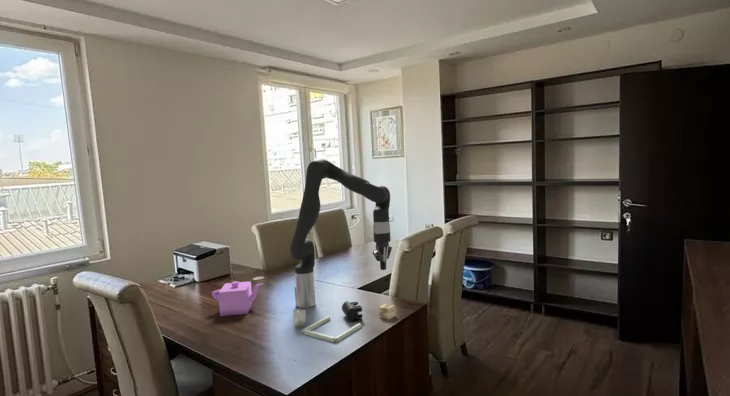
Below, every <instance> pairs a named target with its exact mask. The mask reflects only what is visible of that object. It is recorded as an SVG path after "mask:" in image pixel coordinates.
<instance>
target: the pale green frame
mask: <svg viewBox="0 0 730 396" xmlns="http://www.w3.org/2000/svg"><path fill="white" fill-rule="evenodd" d="M329 321H331V316H330V315H327V316H325V317H324V318H321V319H320V320H317V321H316V322H314V323H312V324H310V325H308V326H306V327H304V328H301V334H303V335H306V336H310V337H314V338H317V339H321V340H324V341H328V342H332V343H334V344H336V343H338V342H340V341H341V340H343V339H344V338H347V336H349V335H351V334H352V333H354V332H356V331H357V330H359V329H360V328H362V323H360V322H357V323H356V324H355V325H353V326H351V327H350V328H348V329H346V330H345V331H343V332H342V333H340V334H338V335H336V336H332V335H328V334H324V333H320V332H317V331H314V329H316V328H318V327H320V326H321V325H323V324H325V323H327V322H329ZM312 330H313V331H312Z"/></svg>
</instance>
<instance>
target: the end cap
mask: <svg viewBox="0 0 730 396" xmlns="http://www.w3.org/2000/svg"><path fill="white" fill-rule="evenodd" d="M341 310H342V313H343V314H344V315H345V317H346V318H347V319H348V321H350V322H351V323H356V322H357V323H359V322H363V314H362V313H360V312H363V306H361V305H360V304H359V302H358V301H352V302H351V301H350V302H349V300H346V301H344V302H343V303H342V306H341Z"/></svg>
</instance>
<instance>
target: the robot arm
mask: <svg viewBox="0 0 730 396" xmlns="http://www.w3.org/2000/svg"><path fill="white" fill-rule="evenodd" d="M324 179H329V180H333V181H335V182H338V183H339V184H341V185H343V187H345V188H346V189H347V190H349V191H351V192H353V193H355V194H358V195H360V196H363V197H364V198H366V199H367V200H369V201H371V202H372V203H375V206H374V207H375V208H374V209H373V210H372V211H373V213H372V215H373V216H372V217H373V219H372V220H373V223H372V224H373V225H372V228H373V229H372V230H373V231H372V232H373V233H372V234H373V242H374V243H375V244H376V245H375V250H374V251H372V255H373V257H374V258H375V260H376V261H377V262H379V265H380V266H379V267H380V270H381V271H385V270H387V261H388V259H390V256H391V252H392V250H393V247H392V246H390V244H389V243H390V242H391V238H392V237H391V223H390V206H391V205H390V203H391V193H390V190H389V188H387V186H384V185H382V186H381V185H380V186H377V185H374V184H373V183H370V181H368V180H367V179H365V178H362V177H360V176H358V175H355V174H352V173H350V172H348V171H347V170H344V169H342V168H341V167H338V166H337V165H335V164H334V163H332V162H331V161H329V160H328V159H324V158H320V159H314V160H312V161H310V163H309V164H308V166H307V168H306V175H305V182H304V183H305V185H304V190H303V194H302V195H303V196H302V200H301V203H300V209H299V213H298V219H297V222H296V223H297V224H296V227H295V231H294V234H293V237H292V240H291V242H290V243H291V244H290V246H289V247H290V248H289V254H290V257H291V258H292V259H293V260H296V261H298V260H299V262H298V263H297V264H296V266H295V267H294V275H295V276H294V278H295V279H294V280H295V286H294V301H295V306H297V308H298V309H310V308H312V307H315V306H316V290H315V289H316V288H315V285H316V284H315V272H314V270H315V269H314V268H315V263H316V262H315V256H316V253H315V251H316V250H315V246H314V245H315V244H314V243H313V241H312V240H311V239H310V238H307V237H308V235H309V233H310V231H311V230H312V229H313V227H314V226H315V224H316V223H317V221H318V219H319V215H320V211H321V199H320V187H321V184H322V181H323V180H324Z"/></svg>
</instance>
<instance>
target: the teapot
mask: <svg viewBox="0 0 730 396" xmlns="http://www.w3.org/2000/svg"><path fill="white" fill-rule="evenodd" d="M262 285H264V283H262V282H261V283H257V284H255V285H254V287H253V290H252V281H241V282H240V281H237V280H236V281H232V282H229V283H224V285H223V286H222V287H221V288H220V289H216V290H214V291H212V292H211V296H212V297H213V298H214V299H215V300H216V301H218V304H219V305H218V306H219V317H227V316H234V315H235V316H237V315H246V314H249V312H250V310H251V307H252V305H253V301H254V300H255V299H256V297H257V293H258V289H259V288H260V287H261V286H262Z"/></svg>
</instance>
